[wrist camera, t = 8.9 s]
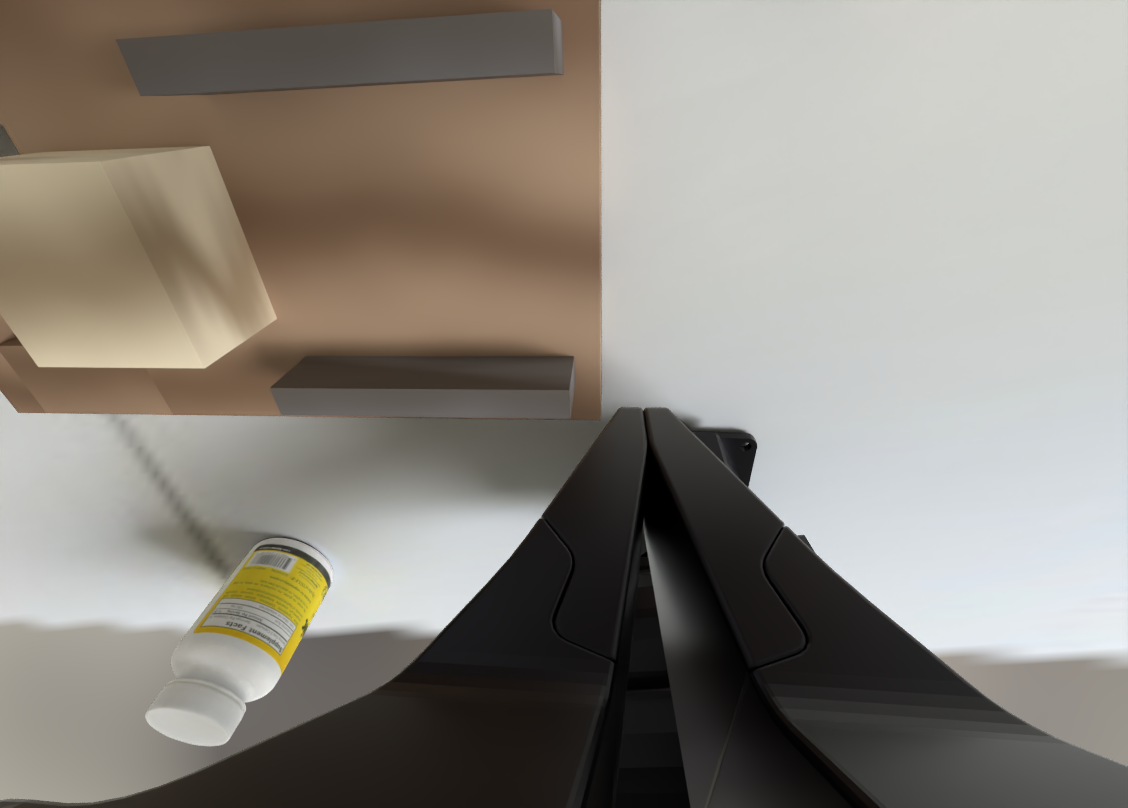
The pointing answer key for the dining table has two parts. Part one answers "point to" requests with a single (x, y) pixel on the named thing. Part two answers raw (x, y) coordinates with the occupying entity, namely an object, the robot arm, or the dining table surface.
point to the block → (125, 259)
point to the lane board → (348, 194)
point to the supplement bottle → (241, 642)
